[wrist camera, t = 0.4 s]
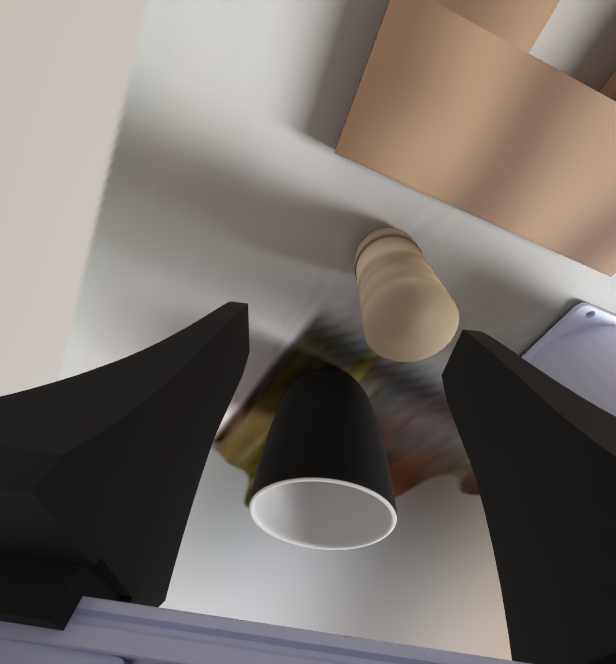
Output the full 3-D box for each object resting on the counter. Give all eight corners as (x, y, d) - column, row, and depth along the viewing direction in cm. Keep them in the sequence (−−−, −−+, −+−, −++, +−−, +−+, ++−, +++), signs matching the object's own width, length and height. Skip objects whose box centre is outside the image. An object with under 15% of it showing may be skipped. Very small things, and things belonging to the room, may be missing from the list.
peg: (425, 236, 18) (482, 304, 11) (394, 287, 20) (424, 373, 13) (369, 212, 17) (391, 268, 10) (343, 267, 19) (346, 345, 12)
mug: (255, 387, 26) (217, 506, 18) (335, 337, 23) (334, 459, 14) (337, 454, 31) (338, 574, 23) (415, 422, 27) (450, 551, 19)
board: (1030, -210, 9) (1234, -309, 7) (579, 259, 18) (610, 276, 16) (610, -608, 7) (727, -924, 5) (335, 149, 16) (334, 152, 14)
